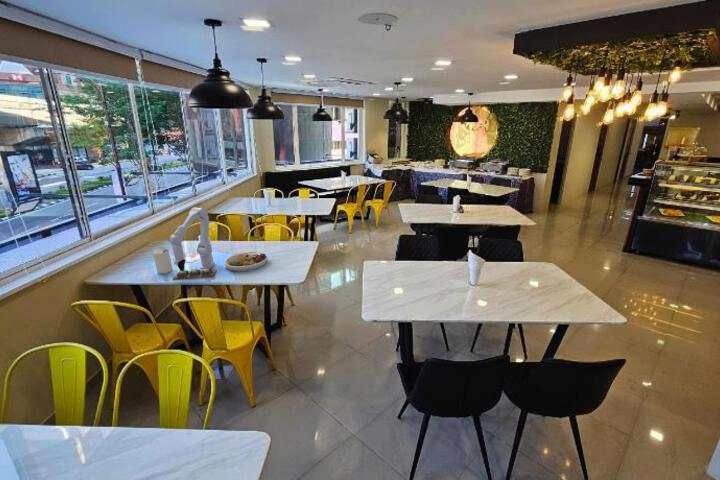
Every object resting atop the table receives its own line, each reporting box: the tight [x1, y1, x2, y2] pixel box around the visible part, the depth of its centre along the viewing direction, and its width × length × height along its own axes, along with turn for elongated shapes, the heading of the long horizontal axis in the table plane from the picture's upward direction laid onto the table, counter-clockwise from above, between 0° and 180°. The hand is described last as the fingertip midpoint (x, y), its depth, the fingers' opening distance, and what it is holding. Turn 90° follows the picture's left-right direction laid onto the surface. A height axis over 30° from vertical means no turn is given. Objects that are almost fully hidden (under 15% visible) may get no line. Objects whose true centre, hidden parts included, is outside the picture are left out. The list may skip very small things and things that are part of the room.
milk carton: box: [152, 246, 173, 274], centre depth 251 cm, size 7×7×19 cm
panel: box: [172, 268, 218, 281], centre depth 245 cm, size 11×26×3 cm, turn 96°
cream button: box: [190, 267, 198, 273], centre depth 244 cm, size 4×4×2 cm
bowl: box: [224, 251, 268, 273], centre depth 260 cm, size 30×30×8 cm
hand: (182, 270), depth 243 cm, fingers closed
